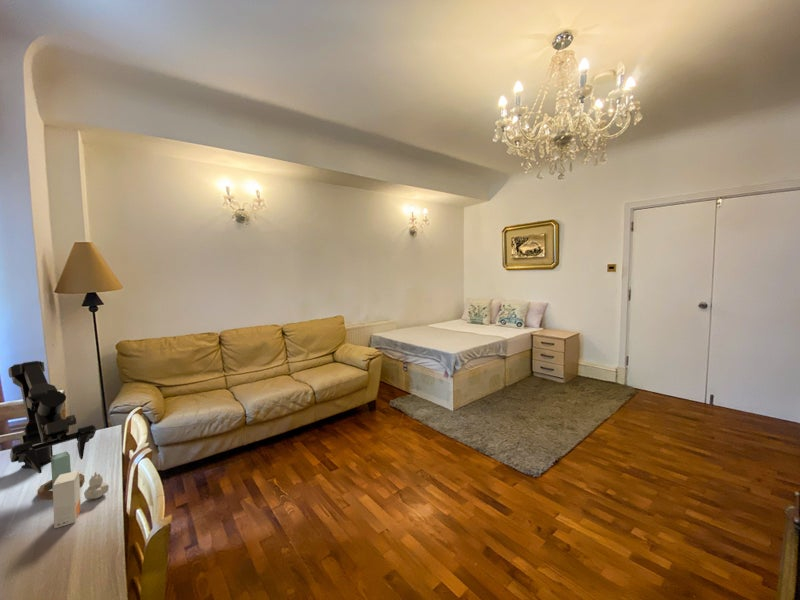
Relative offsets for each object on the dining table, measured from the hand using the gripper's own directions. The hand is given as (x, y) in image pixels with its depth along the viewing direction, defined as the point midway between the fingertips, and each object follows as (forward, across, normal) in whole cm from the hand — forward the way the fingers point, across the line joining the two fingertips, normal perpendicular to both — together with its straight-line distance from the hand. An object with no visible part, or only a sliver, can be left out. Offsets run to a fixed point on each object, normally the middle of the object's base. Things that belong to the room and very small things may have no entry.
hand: (62, 465), depth 103 cm
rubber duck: (+16, +4, -4) cm, 17 cm away
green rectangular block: (+5, 0, +7) cm, 8 cm away
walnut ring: (+5, 0, +7) cm, 8 cm away
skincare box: (+19, -3, -8) cm, 21 cm away
